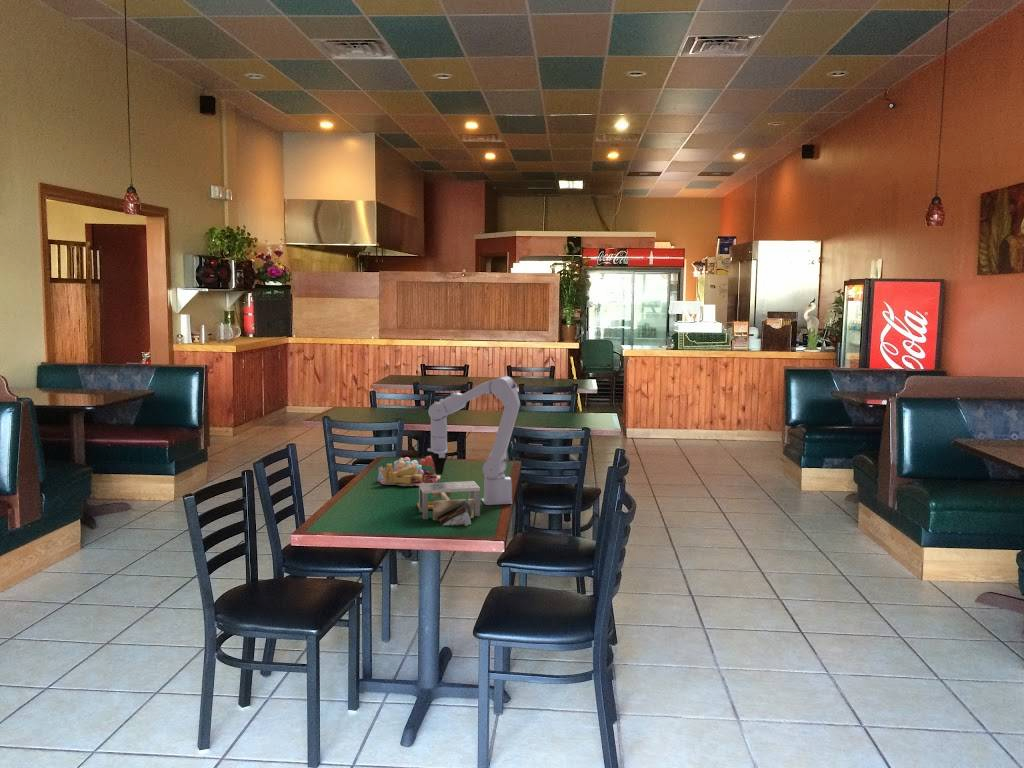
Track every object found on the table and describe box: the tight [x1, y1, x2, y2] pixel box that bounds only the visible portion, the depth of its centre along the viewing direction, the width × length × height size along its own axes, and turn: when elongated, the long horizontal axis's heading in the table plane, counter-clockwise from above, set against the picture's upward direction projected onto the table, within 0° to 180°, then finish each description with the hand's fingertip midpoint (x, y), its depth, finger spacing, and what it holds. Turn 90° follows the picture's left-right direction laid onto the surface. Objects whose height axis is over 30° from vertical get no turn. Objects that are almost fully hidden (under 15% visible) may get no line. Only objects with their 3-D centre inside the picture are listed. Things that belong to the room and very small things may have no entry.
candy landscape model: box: [377, 455, 441, 487], centre depth 317 cm, size 25×24×9 cm
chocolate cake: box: [435, 498, 472, 528], centre depth 256 cm, size 10×7×12 cm
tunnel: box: [418, 480, 481, 520], centre depth 268 cm, size 19×10×10 cm, turn 104°
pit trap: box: [416, 501, 433, 511], centre depth 277 cm, size 18×6×1 cm, turn 104°
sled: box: [432, 492, 475, 521], centre depth 271 cm, size 13×25×6 cm, turn 14°
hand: (439, 474), depth 288 cm, fingers closed
